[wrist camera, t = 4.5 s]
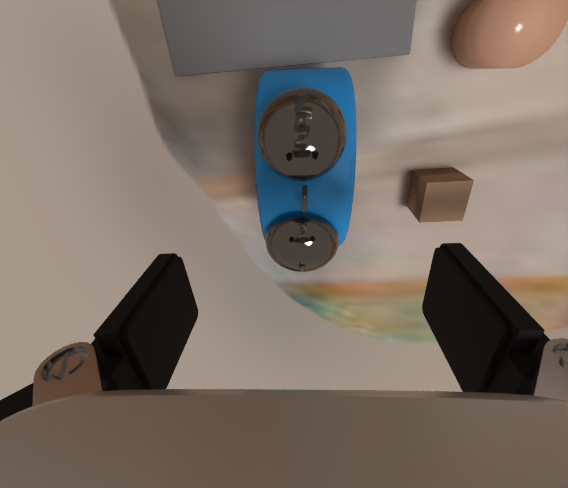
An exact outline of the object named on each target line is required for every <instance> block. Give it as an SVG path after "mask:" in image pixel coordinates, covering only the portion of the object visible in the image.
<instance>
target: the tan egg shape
mask: <svg viewBox="0 0 568 488" xmlns="http://www.w3.org/2000/svg"><path fill="white" fill-rule="evenodd" d="M567 19H568V0H475V1H473V2H472V3H471V4H470V5H469V6H468V7H467V8H466V9H465V10H464V11H463V13H462V14H461V16H460V17H459V19H458V21H457V23H456V25H455V28H454V31H453V35H452V51H453V55H454V57H455V59H456V60H457V62H458V63H459V64H461V65H462V66H464V67H466V68H470V69H495V68H518V67H521V66H525V65H527V64H529V63H531V62H533V61H535V60H536V59H538V58H539V57H540V56H542V55H543V54H544V53H545V52H546V51H547V50H548V49H549V48H550V47H551V46H552V45H553V44H554V43H555V41H556V40H557V38H558V37H559V35H560V34H561V32H562V30H563V28H564V26H565V24H566V21H567Z"/></svg>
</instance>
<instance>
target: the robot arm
mask: <svg viewBox="0 0 568 488" xmlns="http://www.w3.org/2000/svg"><path fill="white" fill-rule="evenodd" d="M422 309H423V314H424V316H425V318H426V320H427V322H428V324H429V326H430V328H431V330H432V332H433V334H434V336H435V338H436V340H437V342H438V344H439V346H440V347H441V349H442V351H443V353H444V355H445V357H446V359H447V361H448V363H449V365H450V367H451V369H452V371H453V373H454V375H455V377H456V379H457V381H458V383H459V385H460V387H461V389H462V391H463V392H445V391H375V390H263V389H261V390H260V389H248V390H247V389H166V388H167V386H168V383H169V381H170V379H171V377H172V374H173V372H174V370H175V367H176V365H177V363H178V361H179V358H180V356H181V354H182V352H183V349H184V347H185V345H186V343H187V340H188V338H189V335H190V333H191V331H192V329H193V327H194V324H195V322H196V320H197V317H198V309H197V305H196V302H195V299H194V295H193V292H192V289H191V286H190V282H189V279H188V276H187V273H186V270H185V266H184V263H183V260H182V258H181V257H178V256H177V254H175V253H173V254H172V253H171V254H159V255H158V256H157V257H156V259H155V260H154V261H153V262H152V264H151V265H150V266H149V267H148V269H147V270H146V271H145V272H144V273H143V275H142V276H141V277H140V278H139V279H138V281H137V282H136V283H135V284H134V286H133V287H132V288H131V289H130V291H129V292H128V293H127V294H126V295H125V297H124V298H123V299H122V300H121V302H120V303H119V304H118V306H117V307H116V308H115V309H114V310H113V311H112V313H111V314H110V315H109V316H108V318H107V319H106V320H105V321H104V323H103V324H102V325H101V326H100V327H99V329H98V330H97V331H96V332H95V333H94V337H95V340H94V341H93V342H92V343H91V344H89V343H87V342H79V343H73V344H70V345H68V346H65V347H63V348H61V349H59V350H57V351H55V352H54V353H53V354H51V355H50V356H49V357H47V358H46V359H45V360H44V361H43V362H42V363H41V364H40V366H39V367H38V368H37V370H36V372H35V375H34V383H32V384H30V385H28V386H27V387H25V388H23V389H21V390H19V391H17V392H15V393H13V394H11V395H9V396H8V397H6V398H4V399H2V400H0V488H568V339H563V338H560V339H552V340H550V339H549V338H548V337H547V336H546V335H545V334H544V333H543V332H544V329H543V328H542V327H541V326H540V325H539V324H538V323H537V322H536V321H535V320H534V319H533V318H532V317H531V316H530V315H529V314H528V312H527V311H526V310H525V309H524V308H523V307H522V306H521V305H520V304H519V303H518V302H517V301H516V300H515V299H514V298H513V297H512V296H511V295H510V294H509V293H508V292H507V290H506V289H505V288H504V287H503V286H502V285H501V284H500V283H499V282H498V281H497V280H496V279H495V278H494V277H493V276H492V275H491V274H490V273H489V272H488V271H487V270H486V269H485V267H484V266H483V265H482V264H481V263H480V262H479V261H478V260H477V259H476V258H475V257H474V256H473V255H472V254H471V253H470V252H469V251H468V250H467V249H466V248H465V247H464V245H462V244H461V243H446V244H441V246H440V248H436V249H435V251H434V255H433V260H432V264H431V269H430V273H429V278H428V282H427V287H426V291H425V296H424V300H423V305H422Z"/></svg>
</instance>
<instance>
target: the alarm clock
mask: <svg viewBox="0 0 568 488" xmlns="http://www.w3.org/2000/svg"><path fill="white" fill-rule="evenodd" d="M355 165H356V109H355V96H354V88H353V82H352V79H351V76H350V74H349V72H348V71H347V70H346V69H345V68H341V67H337V68H312V69H288V70H268V71H265V72H263V73H262V75H261V77H260V79H259V82H258V87H257V95H256V107H255V172H256V188H257V199H258V208H259V215H260V222H261V227H262V232H263V236H264V239H265V241H266V248H267V250H268V253H269V255H270V256H271V258H272V259H273V260H274V261H275V262H276V263H277V264H279V265H280V266H282V267H284V268H286V269H289V270H292V271H297V272H307V271H313V270H316V269H319V268H321V267H323V266H324V265H326V264H327V263H328V262H330V261H331V260H332V258H333V257H334V256H335V254H336V252H337V249H338V246H340V245H341V244H342V243H343V241H344V240H345V237H346V235H347V231H348V227H349V222H350V216H351V210H352V202H353V193H354V181H355Z"/></svg>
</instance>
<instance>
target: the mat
mask: <svg viewBox="0 0 568 488" xmlns="http://www.w3.org/2000/svg"><path fill="white" fill-rule="evenodd" d="M157 1H158V5H159V10H160V14H161V18H162V22H163V27H164V31H165V35H166V39H167V43H168V48H169V52H170V56H171V60H172V64H173V69H174V73H175V76H185V75H195V74H206V73H216V72H227V71H238V70H248V69H259V68H269V67H280V66H291V65H301V64H312V63H323V62H333V61H344V60H354V59H365V58H376V57H386V56H397V55H407V54H410V47H411V39H412V31H413V22H414V14H415V6H416V0H157Z"/></svg>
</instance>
